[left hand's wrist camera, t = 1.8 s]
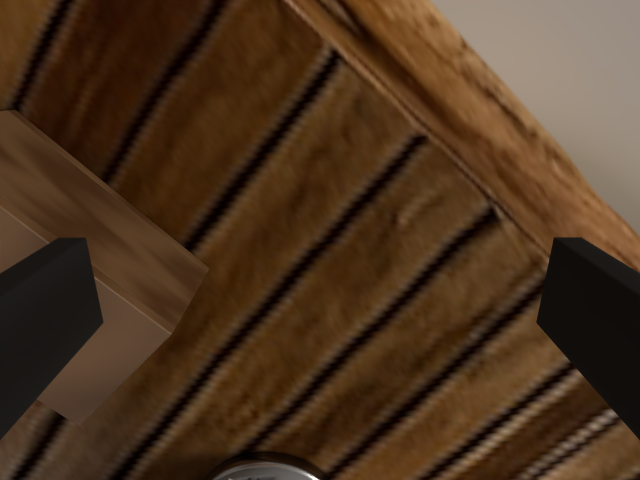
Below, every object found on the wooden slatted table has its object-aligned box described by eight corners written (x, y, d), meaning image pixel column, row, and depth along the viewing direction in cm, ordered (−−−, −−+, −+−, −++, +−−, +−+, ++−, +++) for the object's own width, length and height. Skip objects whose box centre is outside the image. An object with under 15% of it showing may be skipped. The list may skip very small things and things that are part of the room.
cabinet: (-53, 207, 35) (-190, 256, 26) (14, 109, 32) (-111, 123, 23) (136, 343, 40) (79, 427, 30) (210, 268, 37) (171, 334, 28)
